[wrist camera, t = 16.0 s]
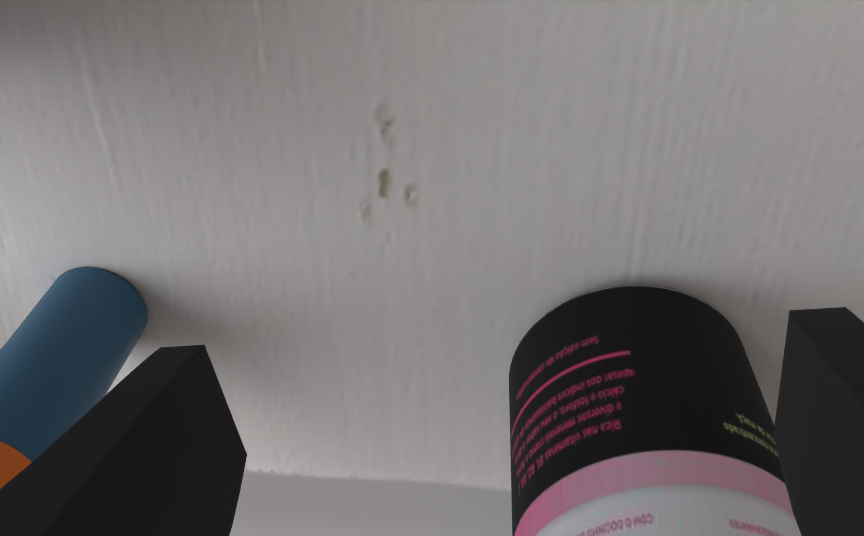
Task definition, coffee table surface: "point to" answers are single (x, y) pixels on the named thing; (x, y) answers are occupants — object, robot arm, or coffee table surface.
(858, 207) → the coffee table surface
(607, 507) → the beverage can
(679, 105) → the coffee table surface
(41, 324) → the glue stick
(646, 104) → the coffee table surface
